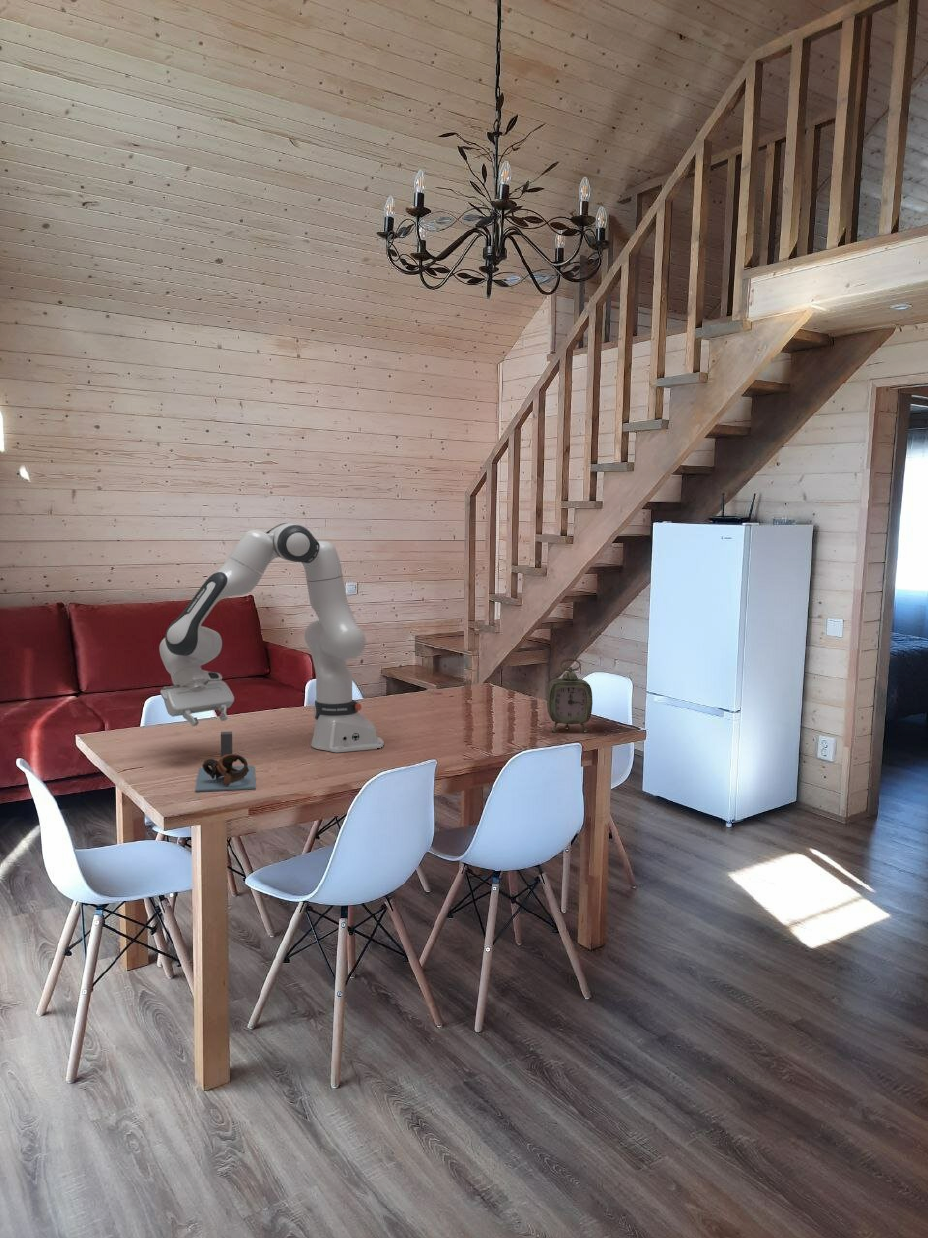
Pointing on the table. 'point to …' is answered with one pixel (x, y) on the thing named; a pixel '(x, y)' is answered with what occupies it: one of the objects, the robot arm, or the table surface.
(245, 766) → the brown looped bands
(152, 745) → the table surface
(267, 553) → the robot arm
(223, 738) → the grey base with post
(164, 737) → the table surface
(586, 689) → the tabletop clock
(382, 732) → the table surface
